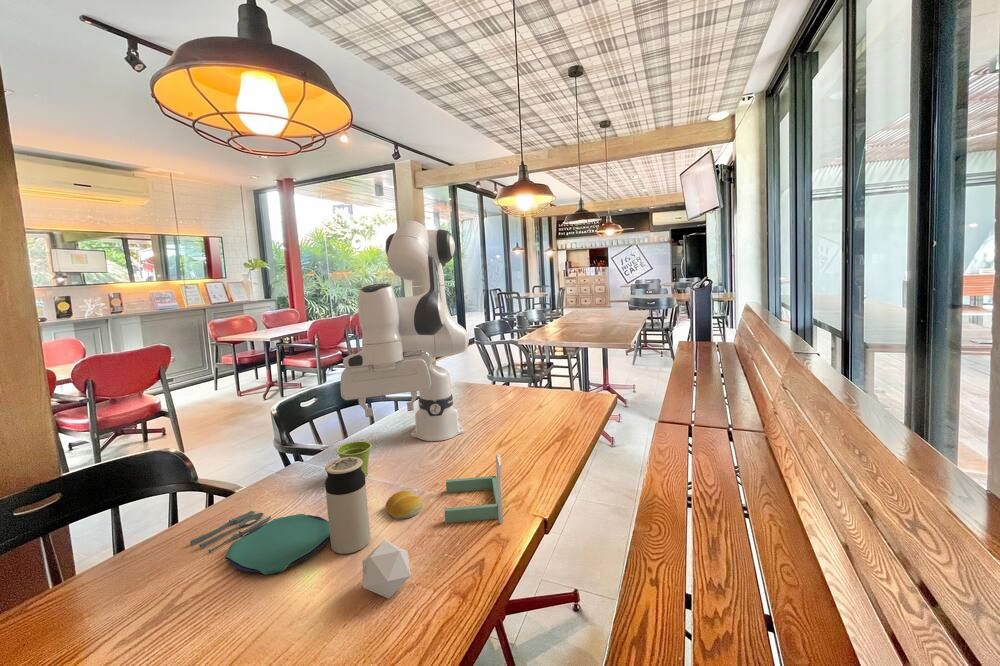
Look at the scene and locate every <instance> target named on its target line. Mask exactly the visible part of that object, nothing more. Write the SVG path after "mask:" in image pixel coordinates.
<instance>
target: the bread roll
mask: <svg viewBox="0 0 1000 666" xmlns="http://www.w3.org/2000/svg"><path fill="white" fill-rule="evenodd" d="M422 509H423V500H422V499H421V497H419V496H417V495H416V494H415V493H413V492H411V491H409V490H400V491H397V492H396V493H393V494H392V495H391V496H390V497H389V498H388V499H387V501H386V502H385V510H386V511H387V513H388V514H389V515H391V516H392V518H394V519H397V520H398V519H399V520H401V519H408V518H411V517H412V518H413V517H414V516H416V515H418V514H419V512H421V510H422Z"/></svg>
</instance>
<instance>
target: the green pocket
mask: <svg viewBox="0 0 1000 666" xmlns="http://www.w3.org/2000/svg"><path fill="white" fill-rule="evenodd" d="M501 461H502V460H501V455H500V454H496V455H495V467H496V468H495V470H496V471H495V472H496V475H491V476H490V475H489V476H477V477H475V476H474V477H466V478H464V477H463V478H454V479H452V478H451V479H445V491H446V493H447V494H449V493H460V492H473V491H474V492H475V491H484V490H492V494H493V499H494V500H493V501H494V503H490V504H489V503H488V504H478V505H468V506H457V507H447V508H444V523H445V524H452V523H453V524H455V523H463V522H475V521H485V520H486V521H487V520H495V519H496V520H498V524H500V525H502V524H504V514H503V509H504V508H503V493H502V492H503V490H502V488H503V487H502V479H503V477H502V476H503V475H502V462H501Z"/></svg>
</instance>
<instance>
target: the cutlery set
mask: <svg viewBox="0 0 1000 666" xmlns="http://www.w3.org/2000/svg"><path fill="white" fill-rule="evenodd" d="M263 516H264V512H258V513H256V511H254V510H250V511H249V512H246V513H244V514H241V515H239V516H236V517H234V518H231V519H229V520H228V522H226V523H224V524H223V525H221V526H219V527H218V528H216V529H214V530H212V531H209V532H207V533H205V534H202V535H200V536H198V537H195V538H194V539H191V540H190V545H191V546H194V545H195V544H197V543H199V548H201V549H204V548H205V547H206V546H208V545H210V544H211V543H213V542H216V541H217V540H218V539H220V538H222V537H224V536H226V535H228V534H231V533H232V532H234V531H236V530H237V529H240V528H242V527H246V526H250V527H248V528H246V529H244V530H242V531H241V530H238V533H235V534H232V535H231V537H229V538H227V539H226V540H224V541H223V542H222V543H220V544H218V545H216V546H214V547H212V548H211V549H208V553H209V554H212V552H213V551H214V550H217V549H218V548H219V547H221V546H223V545H224V544H227V543H228V542H230V541H232V540H235V539H236V540H235V541H233V542H232V543H231V544H230V545H229V548H228V549H227V552H226V554H225V556H224V559H226V560H228V562H229V565H230V566H231V567H233V568H234V569H235V570H236V571H239V572H244V573H248V574H257V573H262V574H263V575H265V576H269V575H271V574H272V575H273V574H277V573H282V572H284V571H285V570H286V569H287V568H289V567H290V566H293V565H296V564H299V563H301V562H302V561H304V560H306V559H308V558H309V557H311V556H312V555H314V554H316V553H317V552H318V551H319V550H320V549H322V548H323V547H324V546H325V545H326V544H327V542H328V541H329V539H330V529H329V520H327V519H326V518H323V517H321V516H316V515H309V514H305V513H297V514H291V515H286V516H283V517H282V516H281V517H277V518H274V519H272V520H270V519H271V518H272V516H271V515H269V516H267V517H266V518H264V519H262V520H260V519H261V518H262V517H263ZM269 520H270V521H269ZM251 521H252V522H251ZM258 521H259V522H258ZM248 522H250V523H248ZM256 522H257V523H256ZM237 524H238V526H235V527H234V528H231V529H229V530H227V531H225V532H222V533H219V534H217V533H218V532H221V531H223V530H224V529H225V528H227V527H228V526H233V525H237ZM252 524H253V525H252ZM215 534H217V535H216V536H214V537H212V538H210V539H208V540H206V539H207V538H209V537H211V536H213V535H215ZM243 534H244V535H243ZM239 537H240V538H239ZM238 538H239V539H238ZM203 540H206V541H203ZM201 541H203V542H202V543H200V542H201Z"/></svg>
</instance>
